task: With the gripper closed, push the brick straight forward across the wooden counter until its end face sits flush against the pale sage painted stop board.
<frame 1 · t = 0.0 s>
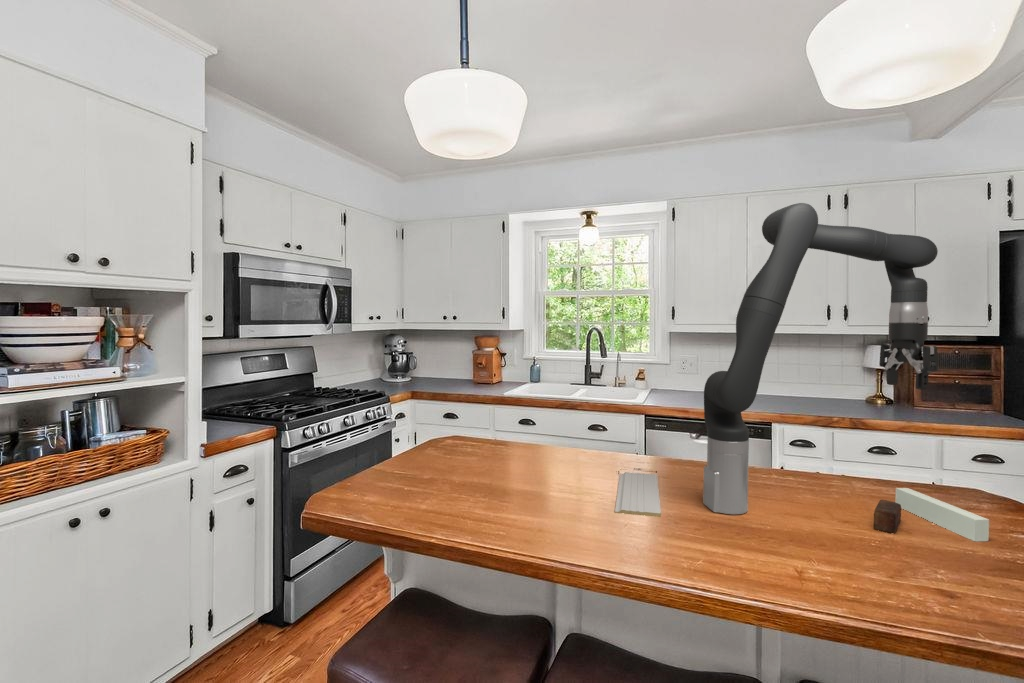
hand: (906, 387, 123), 29 cm above the table, tool pointing down, fingers open, 8 cm apart
stop board: (937, 522, 113), on the table
baseboard molding: (635, 496, 133), on the table
brick: (887, 526, 111), on the table
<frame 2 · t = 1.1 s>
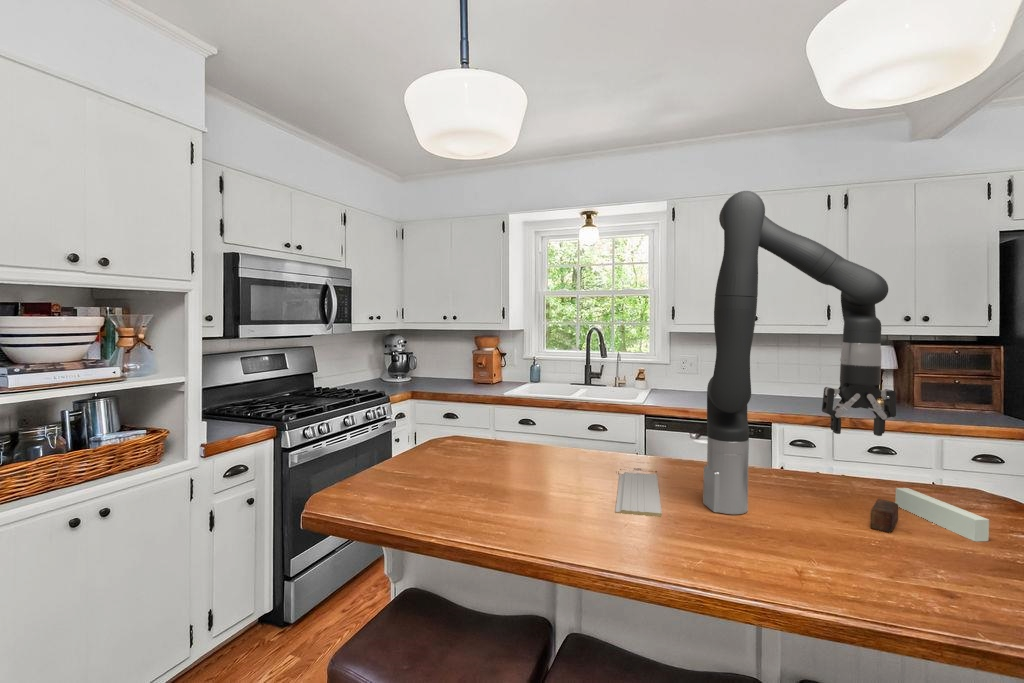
hand: (857, 434, 113), 20 cm above the table, tool pointing down, fingers open, 8 cm apart
nothing on the table moved.
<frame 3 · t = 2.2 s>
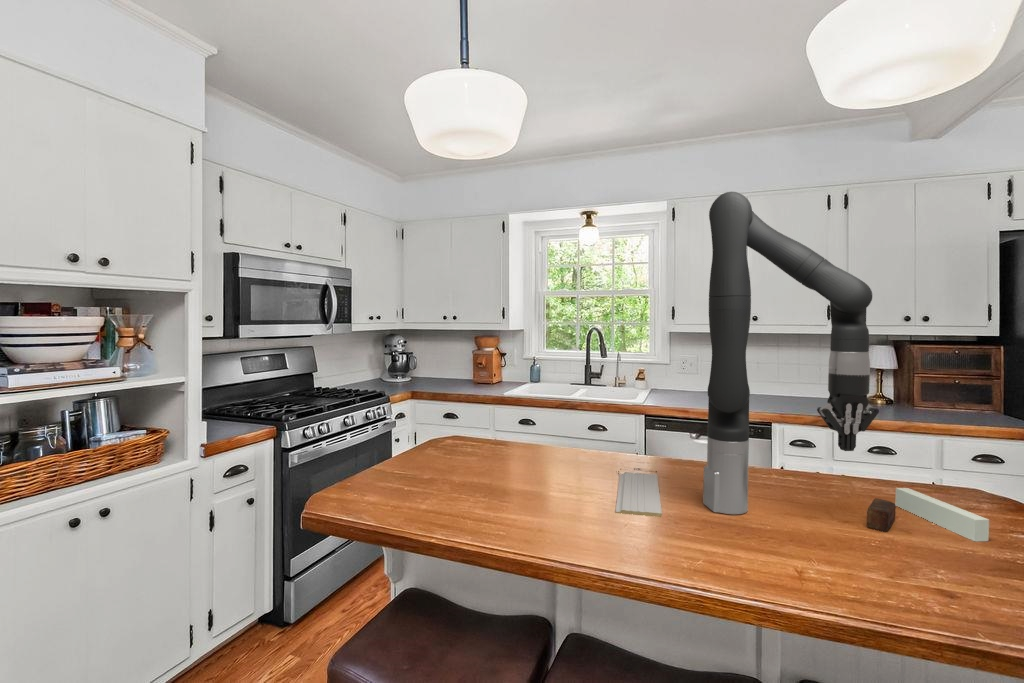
hand: (846, 450, 110), 17 cm above the table, tool pointing down, fingers closed
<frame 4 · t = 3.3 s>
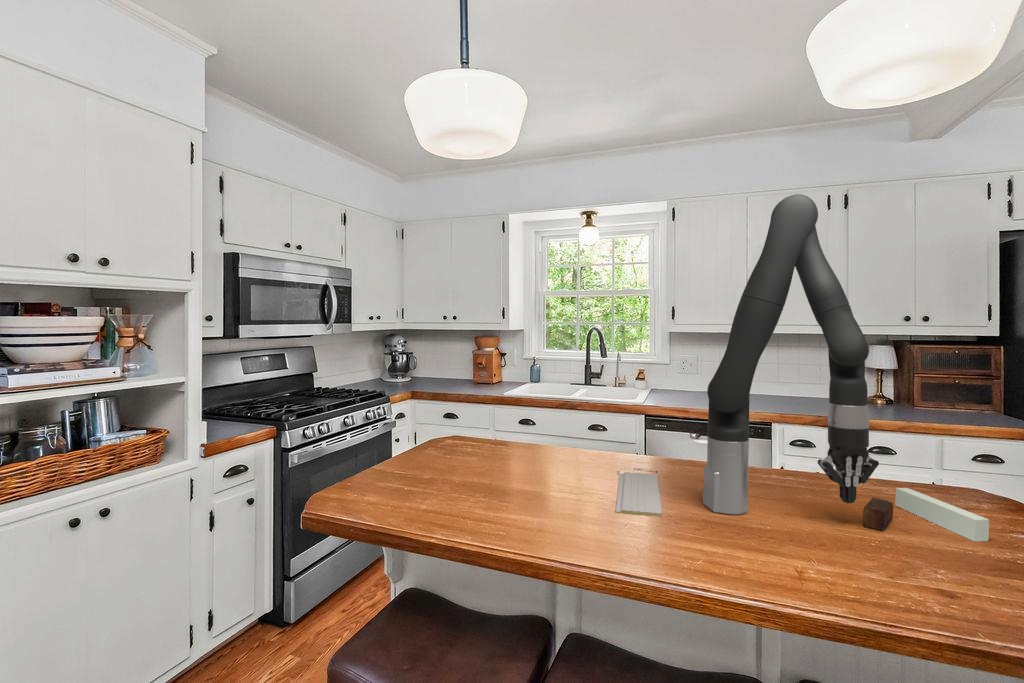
hand: (848, 501, 110), 5 cm above the table, tool pointing down, fingers closed
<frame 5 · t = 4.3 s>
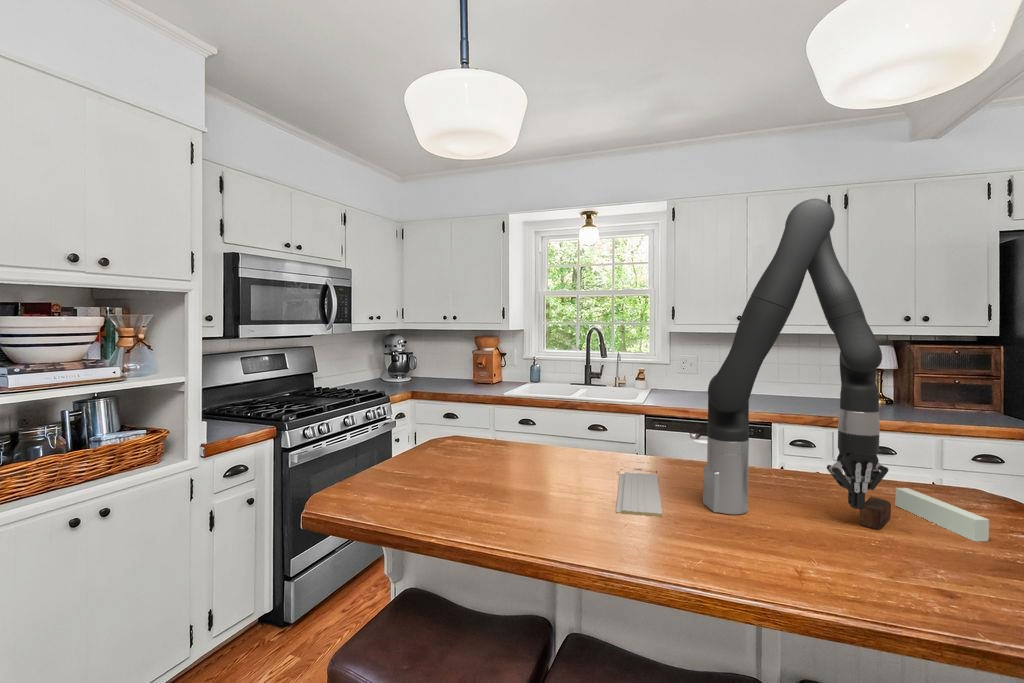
hand: (856, 507, 111), 4 cm above the table, tool pointing down, fingers closed
brick: (875, 523, 113), on the table, touching gripper
everything else where it was.
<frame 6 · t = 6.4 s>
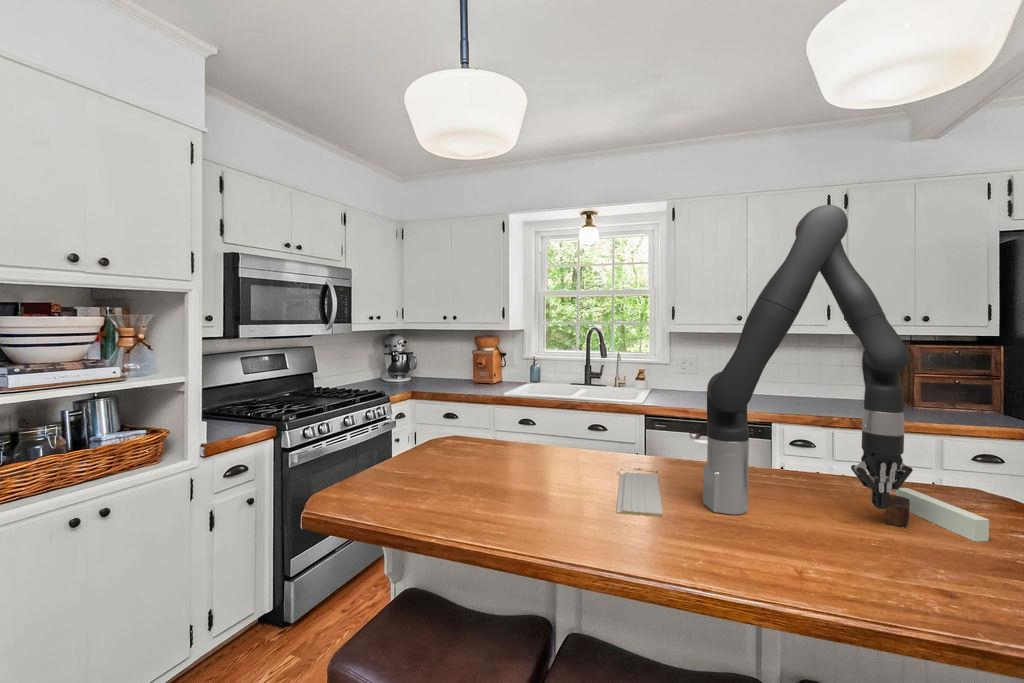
hand: (880, 507, 111), 4 cm above the table, tool pointing down, fingers closed
brick: (897, 521, 115), on the table
everything else where it was.
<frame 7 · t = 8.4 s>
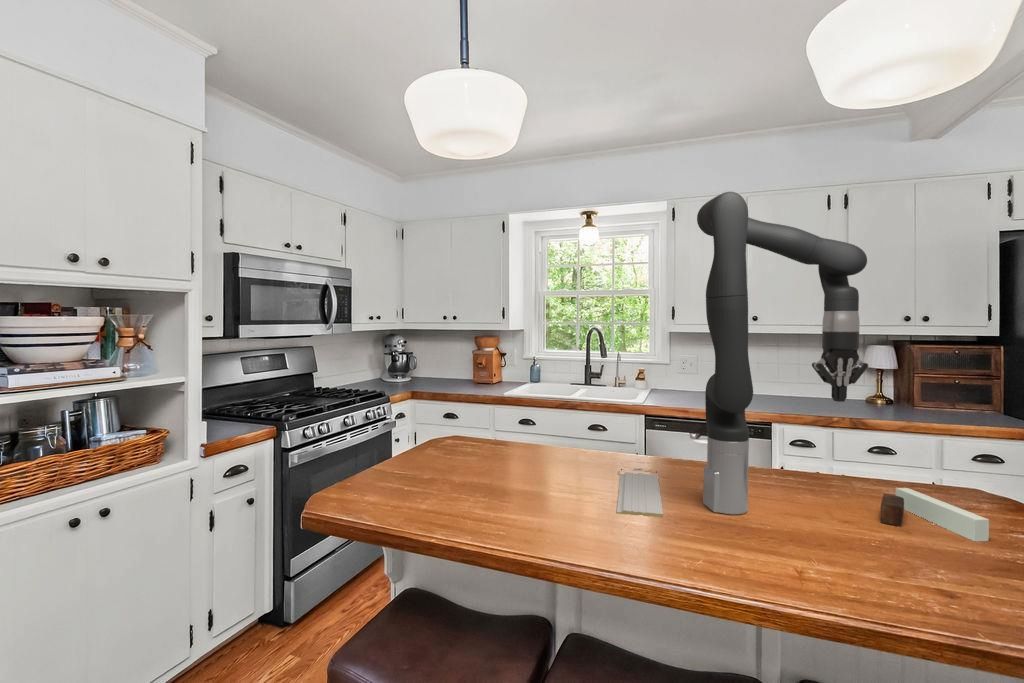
hand: (839, 401, 122), 26 cm above the table, tool pointing down, fingers closed
brick: (892, 519, 115), on the table
everything else where it was.
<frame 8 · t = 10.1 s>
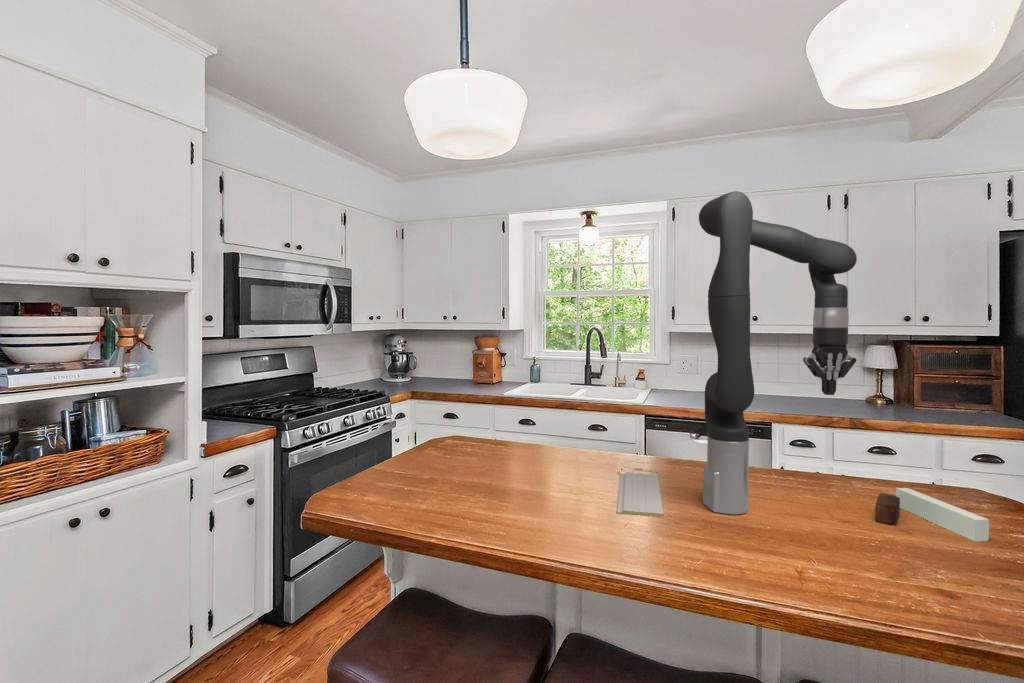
hand: (828, 394, 126), 27 cm above the table, tool pointing down, fingers closed
nothing on the table moved.
at the end: brick inside the target area on the table beside the stop board (3.8 cm from its centre), on the table; brick tilted 1° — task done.
